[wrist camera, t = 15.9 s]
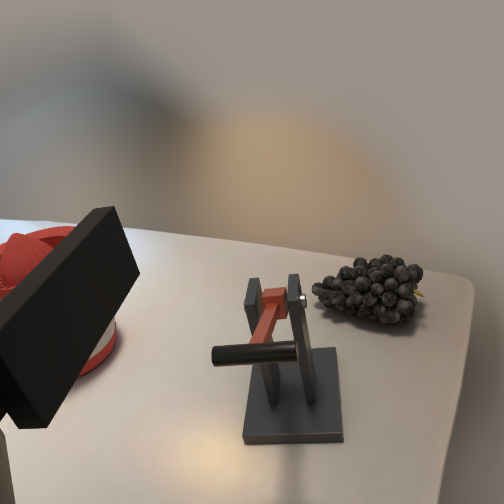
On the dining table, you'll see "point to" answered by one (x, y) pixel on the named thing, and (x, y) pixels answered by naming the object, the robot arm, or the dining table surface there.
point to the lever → (261, 337)
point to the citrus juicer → (26, 259)
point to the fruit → (373, 289)
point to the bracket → (292, 383)
